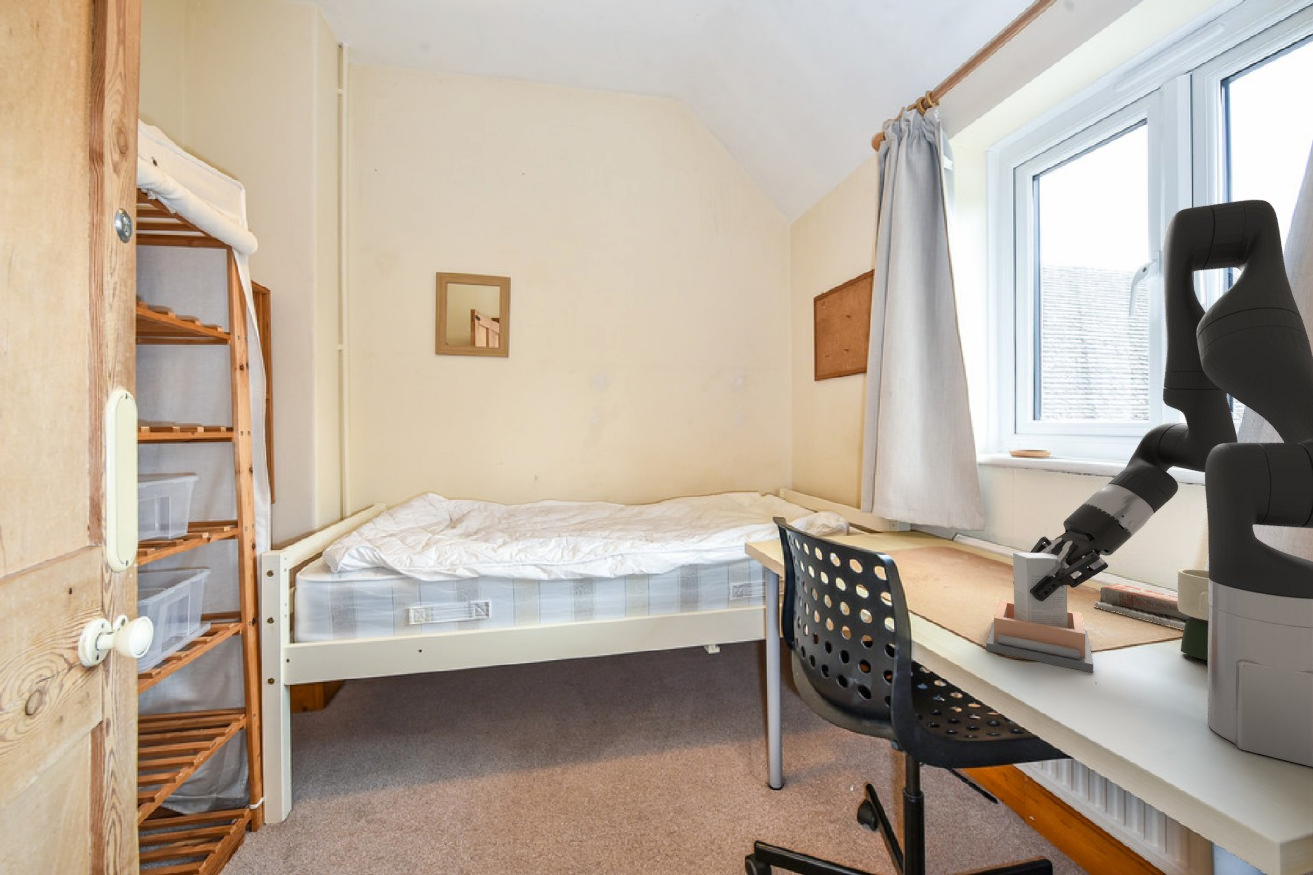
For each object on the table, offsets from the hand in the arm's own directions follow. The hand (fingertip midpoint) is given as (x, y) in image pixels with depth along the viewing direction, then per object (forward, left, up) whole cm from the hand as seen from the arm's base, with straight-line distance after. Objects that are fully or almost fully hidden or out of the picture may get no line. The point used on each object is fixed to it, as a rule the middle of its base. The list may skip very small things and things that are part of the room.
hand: (1026, 592), depth 86 cm
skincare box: (+1, -2, -6) cm, 6 cm away
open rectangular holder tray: (+1, -2, -8) cm, 9 cm away
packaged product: (+29, -20, -9) cm, 37 cm away
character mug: (+9, -22, -9) cm, 25 cm away
